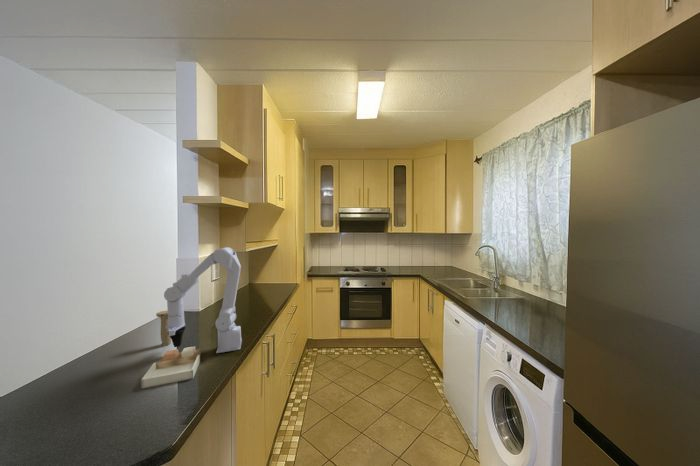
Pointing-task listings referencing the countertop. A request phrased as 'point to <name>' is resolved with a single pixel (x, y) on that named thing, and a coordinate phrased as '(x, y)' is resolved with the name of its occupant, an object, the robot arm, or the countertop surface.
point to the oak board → (178, 360)
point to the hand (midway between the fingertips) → (177, 346)
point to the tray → (169, 374)
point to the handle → (164, 331)
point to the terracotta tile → (170, 354)
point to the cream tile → (188, 351)
